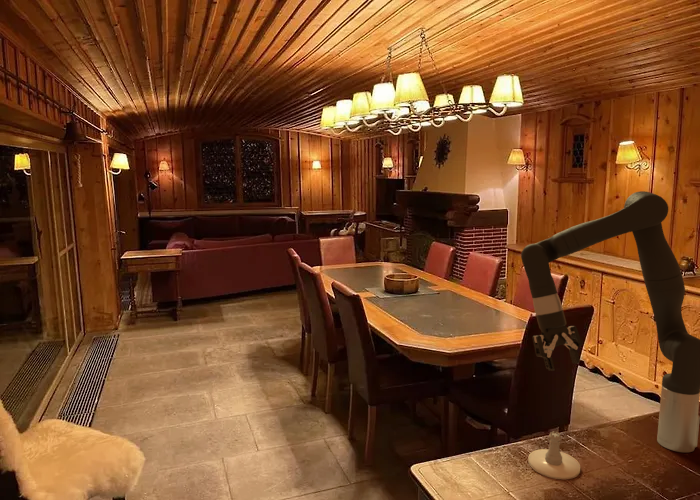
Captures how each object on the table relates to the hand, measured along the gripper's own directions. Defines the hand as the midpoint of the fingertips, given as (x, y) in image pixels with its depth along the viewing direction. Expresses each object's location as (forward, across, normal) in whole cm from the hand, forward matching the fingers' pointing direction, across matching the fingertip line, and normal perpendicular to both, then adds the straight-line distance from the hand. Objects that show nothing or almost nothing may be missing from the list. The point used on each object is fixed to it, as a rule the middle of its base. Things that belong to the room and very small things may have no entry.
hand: (563, 366), depth 144 cm
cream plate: (+24, -12, -1) cm, 27 cm away
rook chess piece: (+23, -12, -2) cm, 26 cm away
